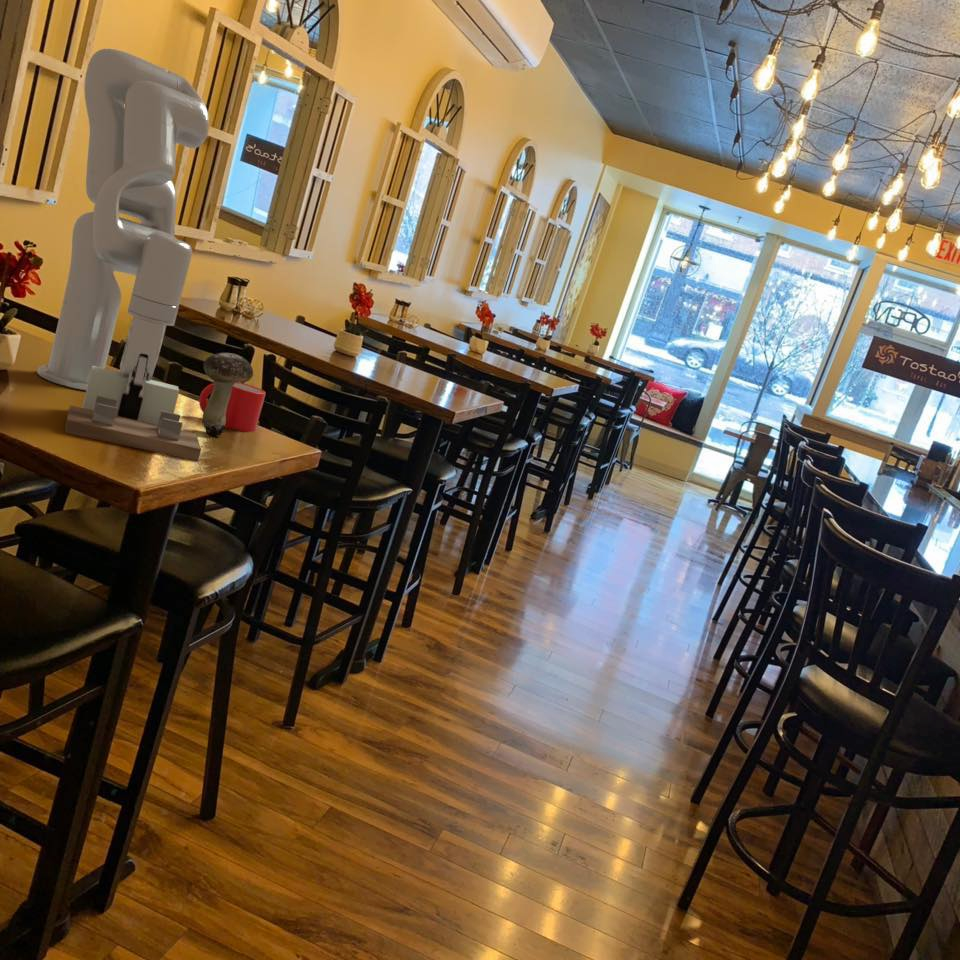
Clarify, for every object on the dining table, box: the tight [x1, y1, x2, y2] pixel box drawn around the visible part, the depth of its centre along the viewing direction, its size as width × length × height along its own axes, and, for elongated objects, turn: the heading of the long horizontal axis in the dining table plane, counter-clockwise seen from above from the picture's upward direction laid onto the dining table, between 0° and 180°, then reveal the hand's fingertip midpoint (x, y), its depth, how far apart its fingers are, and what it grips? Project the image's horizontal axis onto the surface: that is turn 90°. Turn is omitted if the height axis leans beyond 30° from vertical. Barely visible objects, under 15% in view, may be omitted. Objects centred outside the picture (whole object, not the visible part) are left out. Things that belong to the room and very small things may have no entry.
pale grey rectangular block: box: [81, 366, 180, 425], centre depth 158 cm, size 4×14×8 cm, turn 111°
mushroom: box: [202, 352, 254, 436], centre depth 168 cm, size 9×9×15 cm
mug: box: [198, 382, 266, 433], centre depth 181 cm, size 8×12×8 cm, turn 119°
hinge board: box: [64, 396, 202, 462], centre depth 149 cm, size 10×20×5 cm, turn 111°
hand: (127, 414), depth 158 cm, fingers closed on pale grey rectangular block, 3 cm apart
